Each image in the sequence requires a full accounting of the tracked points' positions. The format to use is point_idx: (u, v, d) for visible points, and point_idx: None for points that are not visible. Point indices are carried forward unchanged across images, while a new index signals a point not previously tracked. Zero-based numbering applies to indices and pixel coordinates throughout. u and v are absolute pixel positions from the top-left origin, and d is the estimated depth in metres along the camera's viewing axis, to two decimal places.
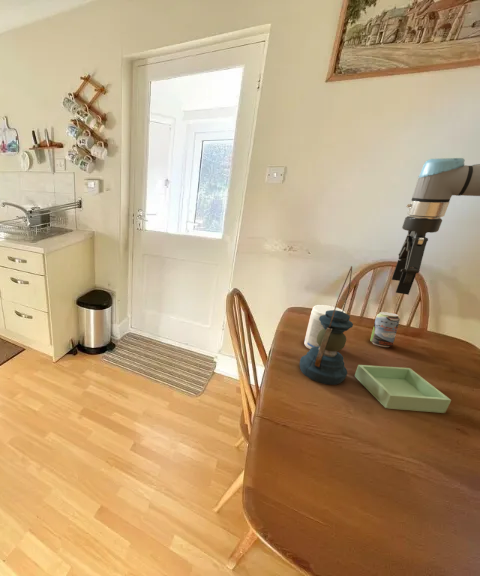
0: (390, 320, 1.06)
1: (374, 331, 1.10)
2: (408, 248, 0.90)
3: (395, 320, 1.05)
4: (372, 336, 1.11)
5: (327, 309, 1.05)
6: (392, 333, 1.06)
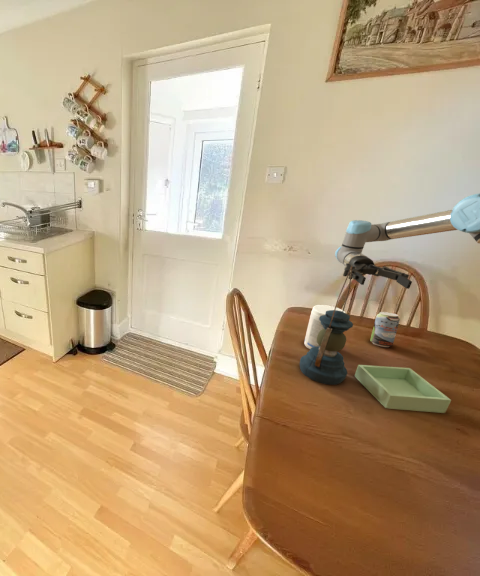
0: (390, 320, 1.06)
1: (374, 331, 1.10)
2: None
3: (395, 320, 1.05)
4: (372, 336, 1.11)
5: (327, 309, 1.05)
6: (392, 333, 1.06)
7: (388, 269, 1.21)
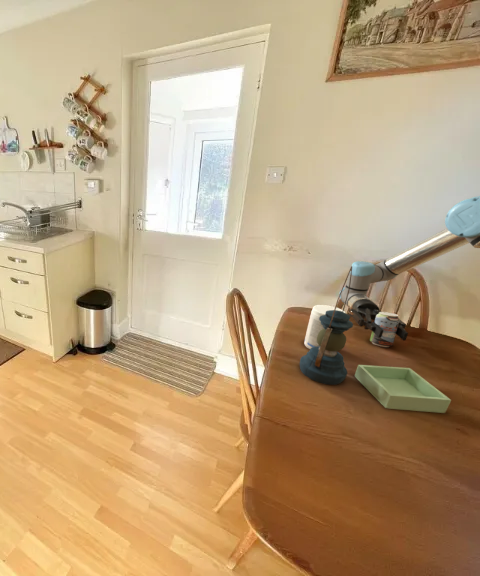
0: (390, 320, 1.06)
1: None
2: (364, 320, 1.18)
3: (395, 320, 1.05)
4: (372, 336, 1.11)
5: (327, 309, 1.05)
6: (392, 333, 1.06)
7: None
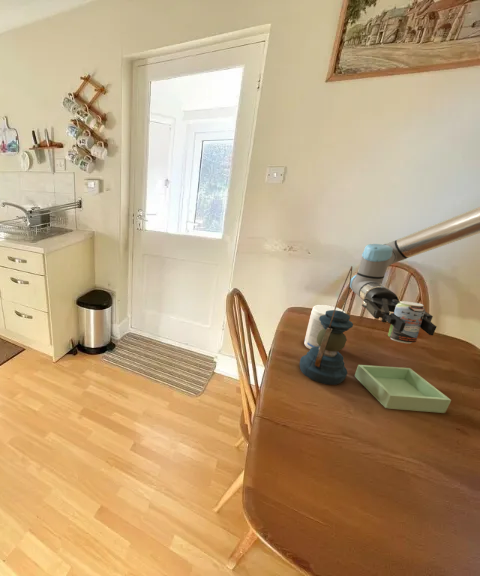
0: (413, 310, 0.87)
1: None
2: None
3: (419, 311, 0.87)
4: (390, 330, 0.92)
5: (327, 309, 1.05)
6: (416, 327, 0.88)
7: None
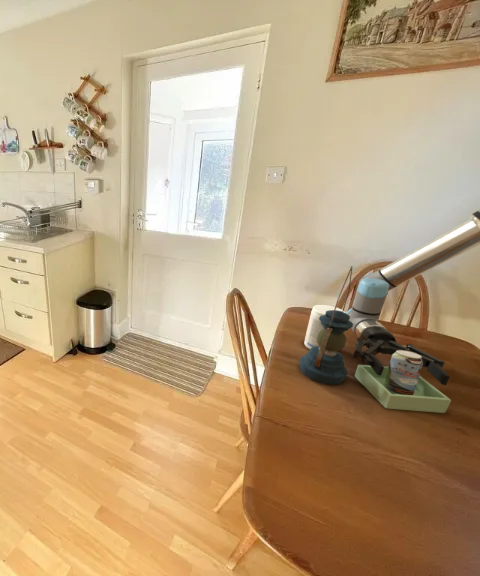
0: (410, 363, 0.82)
1: (389, 375, 0.86)
2: None
3: (417, 363, 0.81)
4: (387, 381, 0.87)
5: (327, 309, 1.05)
6: (413, 380, 0.82)
7: (415, 349, 0.91)
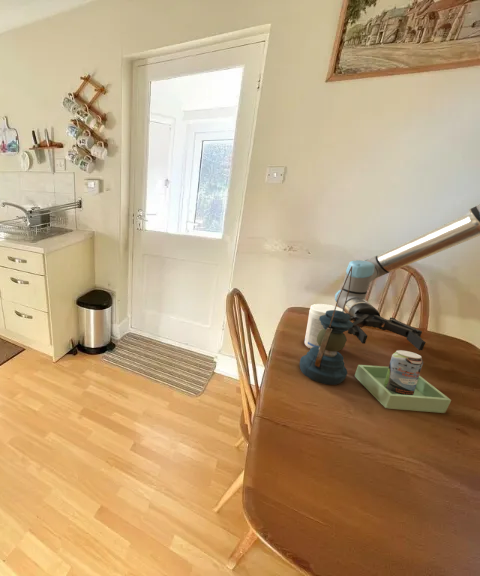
0: (410, 363, 0.82)
1: (389, 375, 0.86)
2: None
3: (417, 363, 0.81)
4: (387, 381, 0.87)
5: (325, 307, 1.06)
6: (413, 380, 0.82)
7: (396, 322, 1.00)
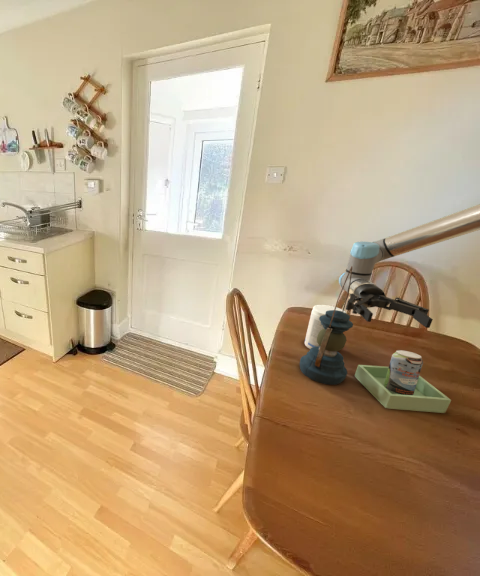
0: (410, 363, 0.82)
1: (389, 375, 0.86)
2: None
3: (417, 363, 0.81)
4: (387, 381, 0.87)
5: (327, 309, 1.06)
6: (413, 380, 0.82)
7: (402, 301, 0.99)
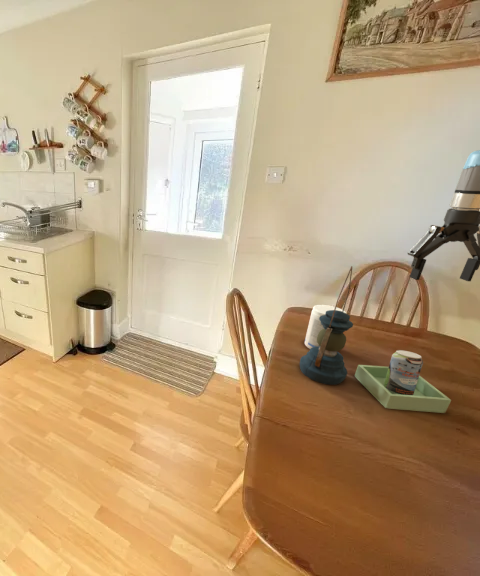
0: (410, 363, 0.82)
1: (389, 375, 0.86)
2: (436, 237, 0.93)
3: (417, 363, 0.81)
4: (387, 381, 0.87)
5: (327, 309, 1.06)
6: (413, 380, 0.82)
7: None
